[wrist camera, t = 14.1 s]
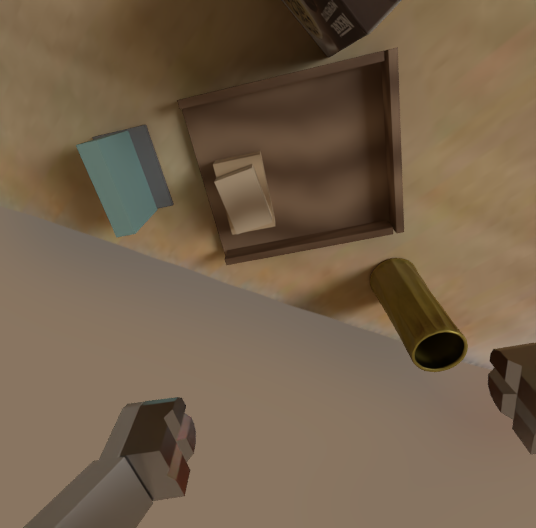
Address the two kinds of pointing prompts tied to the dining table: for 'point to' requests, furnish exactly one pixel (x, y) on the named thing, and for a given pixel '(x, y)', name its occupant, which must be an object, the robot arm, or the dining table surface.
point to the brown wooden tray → (309, 153)
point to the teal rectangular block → (119, 181)
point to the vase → (418, 316)
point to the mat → (149, 164)
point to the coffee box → (339, 20)
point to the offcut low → (256, 159)
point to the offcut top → (244, 199)
